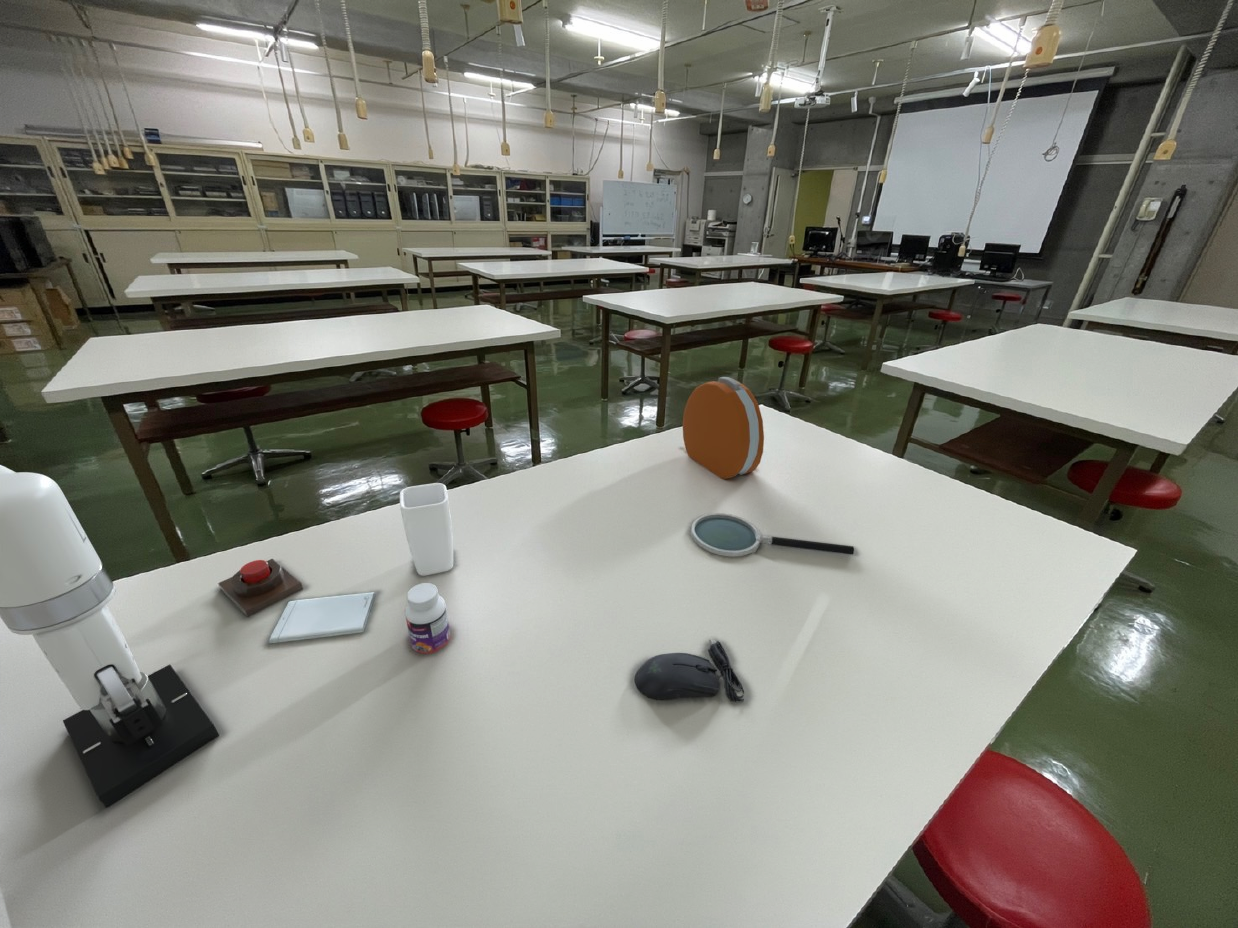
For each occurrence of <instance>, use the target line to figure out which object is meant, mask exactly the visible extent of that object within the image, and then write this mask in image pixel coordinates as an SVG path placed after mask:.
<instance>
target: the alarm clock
mask: <svg viewBox="0 0 1238 928" xmlns="http://www.w3.org/2000/svg"><path fill="white" fill-rule="evenodd" d="M717 380H718V381H714V380H713V381H707V382H705V383H703V384H700V385H698V386H696V387H695V388H694V390H693V391H692V392H691V394H690V395H689V397H688V398H687V401H686V405H685V407H684V411H683V418H682V439H683V443H684V448H685V451H686V454H687V455H688V457H689V458H690V459H692V460H693V461H694V462H696V463H697V464H699V465H701V466H702V467H703V468H705V469H706V470H708V471H709V472H711V473H713V474H714V475H716V476H717V477H718V478H720V479H722V480H728V479H731V478H734V477H737V476H738V475H740V476H742V475H745V474H749V473H752V472H753V471H756V470H757V468H758V466H759V465H760V464H761V461H762V457H763V453H764V443H765V433H764V420H763V416H762V412H761V409H760V405H759V402H758V401H757V399H756V398H755V396H754V394H753V393H752V391H751V389H750V388H748V387H747V386H746V385H744V384H743V383H741V382H740V381H738V380H736V379H734V378H732V377H729V376H722V377H718V379H717Z"/></svg>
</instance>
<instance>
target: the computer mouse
mask: <svg viewBox="0 0 1238 928" xmlns="http://www.w3.org/2000/svg"><path fill="white" fill-rule="evenodd" d="M708 642H709V644H710V646H709V649H707V652H708V655H709V656H710V658H711V660H712V662H713V663H711V661H710V660H709V659H708V658H705V657H702V656H698V655H695V654H692V653H687V652H669V653H662V654H658V655H657V654H656V655H654V656H652V657H650V658H648V659H647V660H645V662H644V663H643V664H641V665H640V667H639V668H638V669H637V671H636V673H635V675H634V685H635V688H636V689H637V690H638V691H639V693H640V694H642V695H643V696H645V697H646V698H648V699H651V700H654V701H670V700H671V701H672V700H677V699H684V698H685V699H686V698H709V697H710V698H711V697H714V696H715V695H716V694H717V693H718V691H719V689H720V684H721V683H720V680H721V677H722V678H723V682H724V691H725V695H726V697H727V699H729V701H730V702H734V703H736V702H744V701H745V699H744V695H745V690H744V687H743V684H742V682H741V681H740V679H739V677H738V676H737V675H736V672H735V671H734V668H732V666H731V664H730V663H731V662H730V660H729V659H730V658H729V656H728V654H727V652H726V650H725V648H724V647H723V645H722V643H721V642H720V641H719V640H716V639H713V638H711V637H710V638H709V639H708ZM718 671H719V672H720V674H721V675H719V674H716V672H718ZM734 685H735V686H736V687H737V688H739V689H737V688H735V687H734ZM741 691H742V695H738V694H737V693H740V692H741Z"/></svg>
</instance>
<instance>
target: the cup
mask: <svg viewBox="0 0 1238 928" xmlns="http://www.w3.org/2000/svg"><path fill="white" fill-rule="evenodd" d="M448 495H449V494H448V490H447V486H446V485H445V484H444V483H440V482H433V483H427V484H420V485H413V486H407V487H405V488H403V489H402V490H400V492H399V508H400V509H399V510H400V513H401V518H402V519H401V520H402V523H403V528H404V532H405V533H404V534H405V537H406V541H407V545H408V549H409V552H410V555H411V558H412V562H413V564H414V567H415V570H416V572H417V574H418V575H419V576H429V575H430V576H431V575H436V574H441V573H445V572H448V571H450V570H451V569H453V567H454V537H453V524H452V517H451V515H452V514H451V509H450V502H449V496H448Z"/></svg>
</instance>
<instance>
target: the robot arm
mask: <svg viewBox="0 0 1238 928" xmlns="http://www.w3.org/2000/svg"><path fill="white" fill-rule="evenodd" d="M107 571H108V570H107V569H106V568H105V565H104V564H103V562H102V561H101V559H100V556H99V555H98V553H97V551H96V549H95V548H94V546H93V544H92V542H91V541H90V539H89V537H88V535H87V533H86V531H85V530H84V528H83V527H82V524H81V523H80V521H79V518H77V515H76V514H75V512H74V510H73V508H72V507H71V505H70V503H69V501H68V499H67V498H66V496H65V494H64V492H63V491H62V489H61V487H60V486H59V484H58V483H57V482H56V481H55V480H54V479H52V478H50V477H49V476H47V475H44V474H42V473H37V472H28V471H23V472H22V471H21V472H16V471H14V470H13V469H10V468H8V467H7V466H4V465H2V464H0V619H1V620H2V622H3V623H4V625H5V626H6V627H7V628H8V631H10V632H11V633H13V634H15V635H20V636H22V635H23V636H30V635H31V636H32V637H33V638H34V641H35V642H36V644H37V646H38V647H39V649H40V651H41V652H42V654H43V655H44V657H45V658H46V660H47V661H48V663H49V664H50V665H51V667H52V669H53V670H54V671H55V673H56V674H57V676H58V678H60V680H61V682H62V683H63V685H64V686H65V687H66V689H67V690H68V692H69V693H70V695H71V696H72V698H73V700H74V702H75V703H76V704H77V706H78V707H79V709H80V710H81V711H82V710H90V709H91V708H92V707H94V706H96V705H98V704H99V701H100V702H102V704H103V706H104V707H105V709H106V710H107V712H108V714H109V715H110V717H111V719H109V721H110V723H111V724H112V726H113V727H114V729H115V730H116V732H117V733H118V735H119V736H120V738H121V739H122V740H123V742H124V743H125V745H130V744H132V743H133V742H135V741H137V740H138V739H140V738H142V737H143V736H145V735H147V734H149V733H150V732H152V731H154V730H155V729H157V728H159V727H160V726H161V725H162V724H163V722H162V720H161V719H160V717H159V715H158V714H157V712H156V710H155V709H154V707H153V705H152V704H151V702H150V700H149V699H148V698H147V699H146V700H145V698H144V697H143V695H142V694H141V692H140V690H139V689H138V687H137V685H136V683H137V684H138V683H139V682H140V680H141V678H142V677H141V674H140V672H141V671H140V669H139V667H138V664H137V662H136V660H135V658H134V655H133V653H132V651H131V649H130V646H129V645H128V642H127V640H126V638H125V636H124V634H123V632H122V630H121V628H120V627H119V625H118V623H117V620H116V619H115V617H114V616H113V615H114V614H113V613H112V612H111V610H110V608H109V607H108V605H107V604H109V602H110V601H112V599H113V598H114V596H115V594H116V591H117V588H116V585H115V583H114V581H112V578H111V576H110V574H109V573H108V572H107ZM139 671H140V672H139ZM124 677H125V678H126V679H127V680H128V682H127V683H125V684H123V683H122V681H121V680H120V679H122V678H124ZM102 688H105V689H106V691H107V693H106V694H104V695H103V693H102V692H101V689H102ZM129 688H130V689H131V691H132V692H133V694H134V695H135V697H136V698H133V699H132V698H131V696H130V694H129V693H128V691H127V690H128V689H129ZM109 699H112V701H113V703H114V704H115V706H116V708H114V707H113V705H112V704H111V702H110V701H109Z"/></svg>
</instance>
